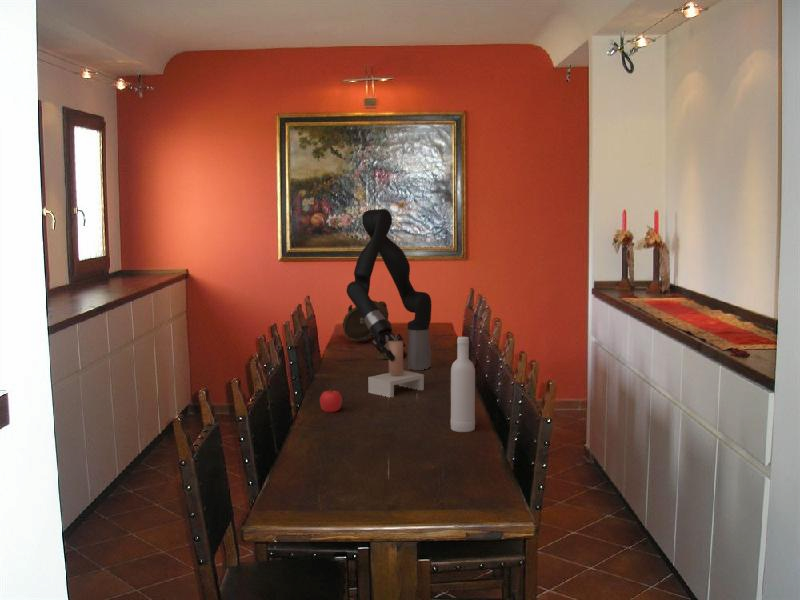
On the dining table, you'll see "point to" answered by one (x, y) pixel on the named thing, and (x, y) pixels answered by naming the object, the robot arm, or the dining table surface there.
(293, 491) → the dining table surface
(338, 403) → the apple
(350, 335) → the basket
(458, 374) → the bottle
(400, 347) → the tan rounded-top cylinder
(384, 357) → the brown carved figurine
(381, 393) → the white channel block
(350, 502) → the dining table surface
